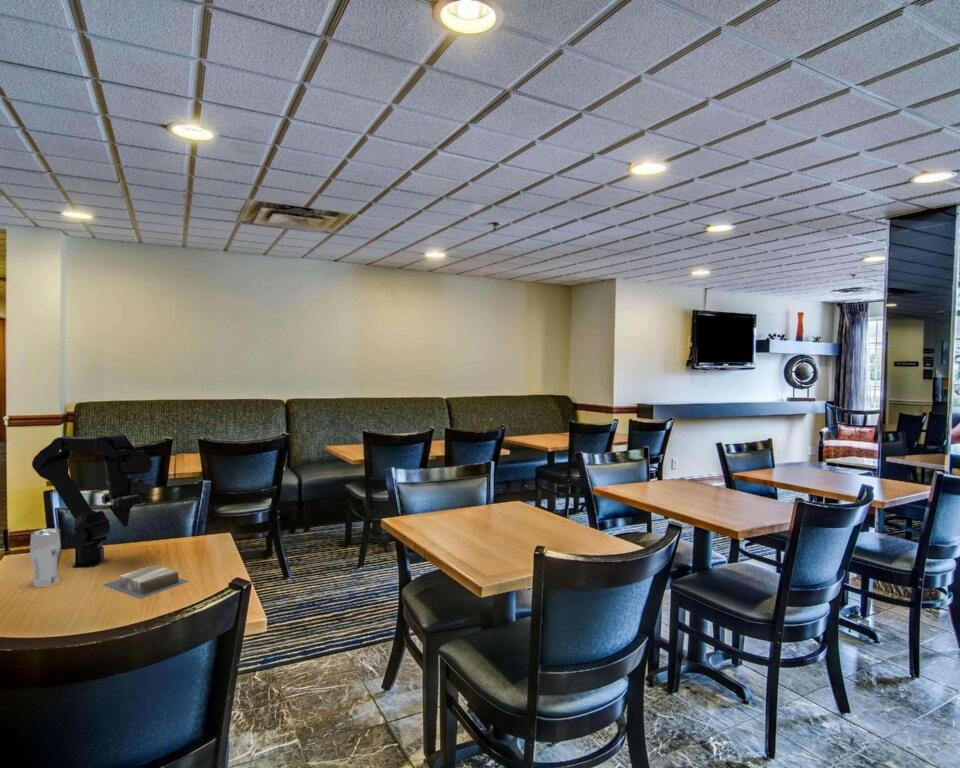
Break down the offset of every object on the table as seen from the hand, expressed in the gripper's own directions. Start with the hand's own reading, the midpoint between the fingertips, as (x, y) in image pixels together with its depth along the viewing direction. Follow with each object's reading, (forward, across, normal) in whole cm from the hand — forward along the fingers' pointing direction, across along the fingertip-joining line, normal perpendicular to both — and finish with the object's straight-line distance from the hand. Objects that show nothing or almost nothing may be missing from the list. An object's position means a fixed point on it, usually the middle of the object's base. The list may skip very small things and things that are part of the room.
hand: (125, 526), depth 175 cm
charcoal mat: (+15, -17, +1) cm, 23 cm away
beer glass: (+11, +2, +21) cm, 23 cm away
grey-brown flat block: (+12, -14, +2) cm, 19 cm away
